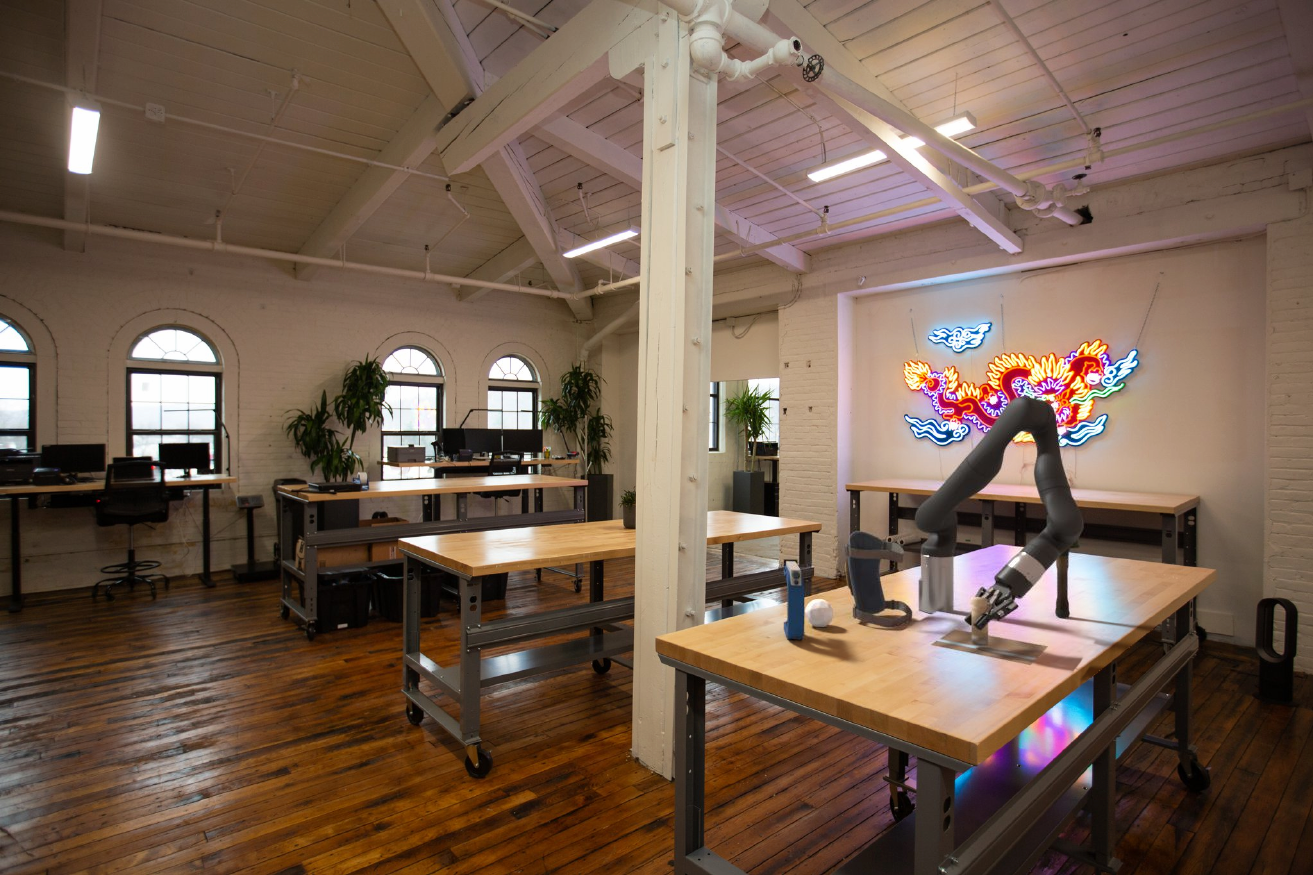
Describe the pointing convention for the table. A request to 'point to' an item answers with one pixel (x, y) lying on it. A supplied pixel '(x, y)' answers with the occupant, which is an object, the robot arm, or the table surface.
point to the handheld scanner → (794, 600)
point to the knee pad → (872, 578)
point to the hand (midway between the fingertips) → (972, 625)
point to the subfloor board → (992, 647)
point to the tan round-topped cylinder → (977, 610)
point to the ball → (819, 613)
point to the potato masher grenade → (1063, 581)
